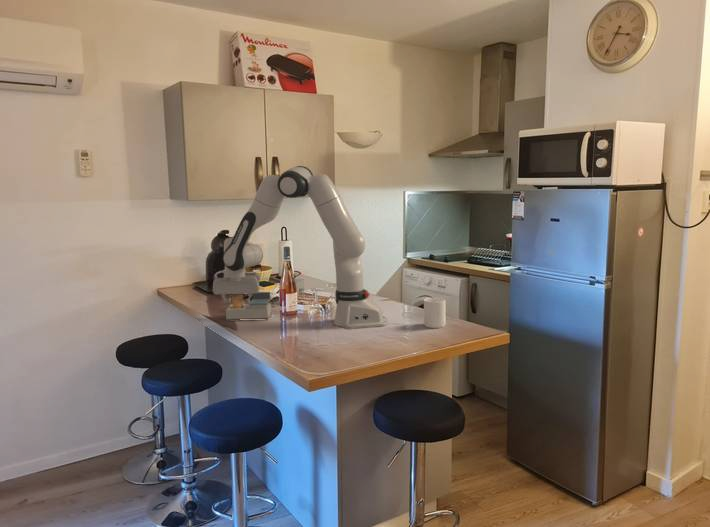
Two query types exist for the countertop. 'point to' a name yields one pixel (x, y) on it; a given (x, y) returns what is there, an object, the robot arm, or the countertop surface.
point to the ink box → (300, 285)
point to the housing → (248, 312)
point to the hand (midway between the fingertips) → (237, 303)
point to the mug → (434, 312)
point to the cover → (260, 298)
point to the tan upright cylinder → (237, 302)
